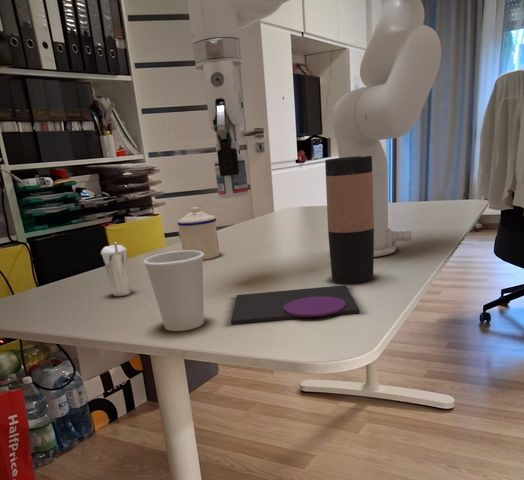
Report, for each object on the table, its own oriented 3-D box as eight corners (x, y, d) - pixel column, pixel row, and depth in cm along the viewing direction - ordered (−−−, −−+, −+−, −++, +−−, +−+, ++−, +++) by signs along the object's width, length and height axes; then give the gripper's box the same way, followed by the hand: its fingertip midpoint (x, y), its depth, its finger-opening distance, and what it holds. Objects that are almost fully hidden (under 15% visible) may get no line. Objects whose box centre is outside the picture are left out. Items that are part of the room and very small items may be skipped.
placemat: (345, 288, 86) (345, 283, 85) (361, 316, 71) (361, 310, 71) (237, 298, 87) (236, 293, 86) (230, 328, 72) (229, 321, 72)
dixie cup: (163, 338, 71) (150, 265, 67) (150, 323, 78) (137, 256, 74) (220, 325, 73) (211, 255, 70) (203, 312, 81) (193, 247, 77)
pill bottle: (251, 193, 93) (246, 140, 90) (244, 196, 89) (238, 140, 86) (223, 196, 95) (216, 143, 91) (215, 199, 90) (208, 144, 87)
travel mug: (326, 284, 89) (319, 161, 82) (335, 273, 96) (330, 158, 89) (371, 284, 87) (368, 156, 79) (378, 273, 93) (375, 154, 86)
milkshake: (113, 299, 94) (102, 244, 90) (107, 294, 98) (96, 241, 95) (138, 294, 96) (128, 240, 92) (131, 289, 100) (121, 237, 97)
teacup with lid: (228, 254, 125) (222, 204, 121) (198, 262, 119) (191, 210, 115) (197, 251, 133) (191, 204, 129) (168, 258, 128) (160, 210, 123)
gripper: (236, 43, 76) (249, 174, 82) (244, 61, 92) (255, 170, 98) (185, 49, 76) (202, 179, 83) (202, 66, 92) (216, 174, 99)
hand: (231, 173), depth 90 cm, fingers closed on pill bottle, 5 cm apart
